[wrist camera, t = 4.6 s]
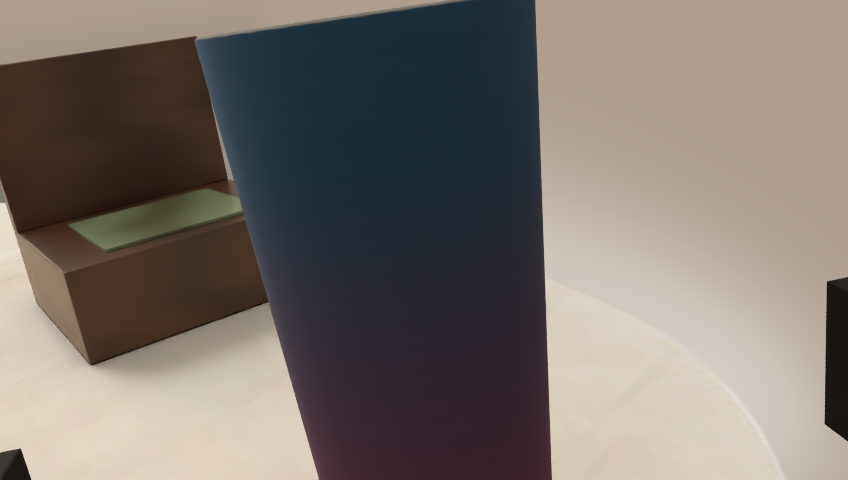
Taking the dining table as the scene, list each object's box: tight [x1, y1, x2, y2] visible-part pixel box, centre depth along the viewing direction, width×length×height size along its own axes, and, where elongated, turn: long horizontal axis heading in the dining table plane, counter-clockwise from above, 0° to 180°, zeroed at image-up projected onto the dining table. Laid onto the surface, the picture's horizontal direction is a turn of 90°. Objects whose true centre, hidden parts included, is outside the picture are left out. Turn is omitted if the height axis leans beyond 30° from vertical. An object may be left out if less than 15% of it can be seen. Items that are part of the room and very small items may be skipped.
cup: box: [195, 0, 552, 480], centre depth 18 cm, size 7×7×15 cm
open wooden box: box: [0, 36, 268, 364], centre depth 46 cm, size 14×14×15 cm
